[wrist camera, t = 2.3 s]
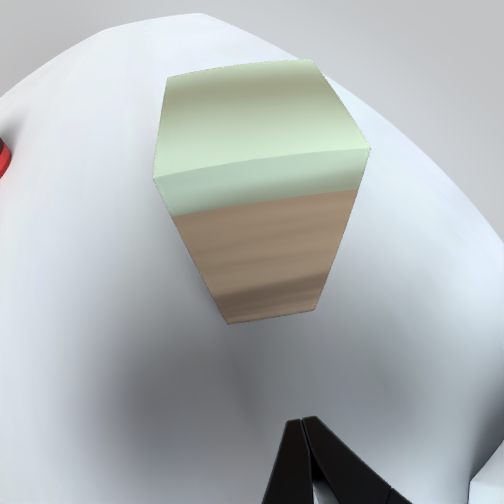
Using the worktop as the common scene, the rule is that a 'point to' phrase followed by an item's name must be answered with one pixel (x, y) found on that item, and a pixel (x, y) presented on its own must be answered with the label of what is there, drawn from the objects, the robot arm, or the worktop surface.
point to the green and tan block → (259, 181)
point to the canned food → (4, 158)
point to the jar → (489, 481)
